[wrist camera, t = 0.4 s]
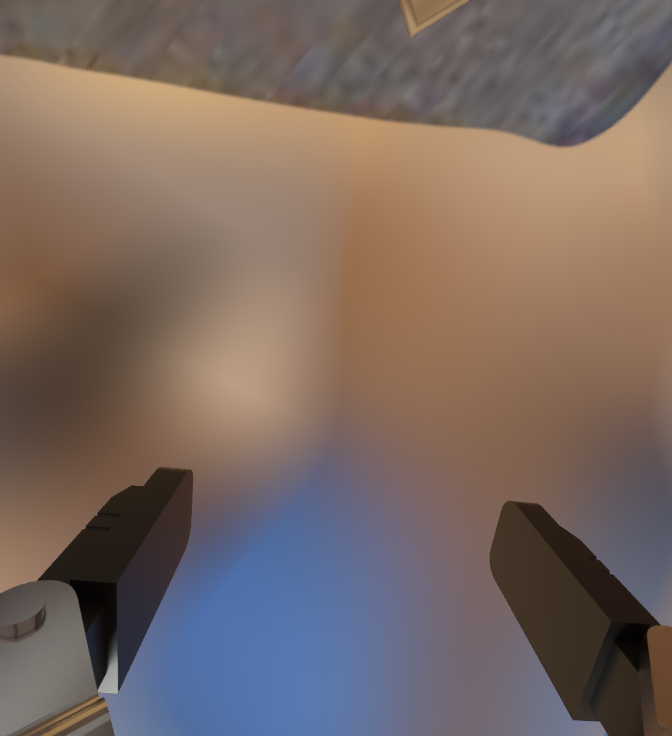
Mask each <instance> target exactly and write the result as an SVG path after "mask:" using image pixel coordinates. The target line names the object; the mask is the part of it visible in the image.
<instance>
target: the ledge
mask: <svg viewBox="0 0 672 736" xmlns="http://www.w3.org/2000/svg"><path fill="white" fill-rule="evenodd" d="M398 1H399V4H400V7H401V10H402V13H403V16H404V19H405V23H406V26H407V29H408V32H409V35H410V38H411V37H412V36H414V35H416V34H417V33H419V32H420V31H422V30H423V29H425V28H427V27H428V26H430V25H431V24H433V23H435V22H436V21H438V20H439V19H441V18H442V17H444V16H446V15H447V14H449V13H450V12H452V11H454V10H455V9H457V8H458V7H460V6H461V5H463V4H465V3H466V2H468V1H469V0H398Z"/></svg>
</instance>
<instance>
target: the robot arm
mask: <svg viewBox="0 0 672 736" xmlns="http://www.w3.org/2000/svg"><path fill="white" fill-rule="evenodd" d="M192 491H193V472H192V470H190V469H179V468H169V467H159V468H158V469H157V470H156V471H155V472H154V474H153V475H152V476H151V477H150V479H149V480H148V481H147V482H146V484H145V485H144V486H133V485H132V486H130V487H128V488H127V489H125V490H123V491H122V492H120V493H118V494H116V495H115V496H113V497H111V498H110V500H109V501H108V502H107V503H106V504H105V505H104V506H103V507H102V509H101V510H100V511H99V512H98V515H97V516H95V517H94V518H93V519H92V520H91V521H90V522H89V523H88V524H87V525H86V528H85V529H83V530H82V531H81V532H80V533H79V534H78V535H77V537H76V538H75V539H74V540H73V541H72V542H71V543H70V544H69V546H68V547H67V548H66V549H65V550H64V551H63V552H62V554H61V555H60V556H59V557H58V558H57V559H56V560H55V561H54V563H52V565H51V566H50V567H49V568H48V569H47V570H46V571H45V573H44V574H43V575H42V576H41V577H40V578H39V579H38V580H37V581H35V582H29V583H26V584H22V585H19V586H16V587H13V588H11V589H9V590H6V591H4V592H3V593H1V594H0V736H114V731H113V727H112V723H111V718H110V714H109V711H108V707H107V704H106V701H105V699H104V698H101V699H99V696H98V692H104V693H105V692H106V693H118V692H119V690H120V688H121V685H122V684H123V681H124V679H125V677H126V675H127V672H128V671H129V669H130V666H131V664H132V662H133V660H134V658H135V656H136V654H137V651H138V649H139V647H140V645H141V643H142V641H143V639H144V637H145V635H146V633H147V630H148V628H149V626H150V624H151V622H152V620H153V618H154V616H155V613H156V611H157V609H158V607H159V605H160V603H161V601H162V599H163V596H164V594H165V592H166V590H167V588H168V586H169V584H170V581H171V579H172V577H173V575H174V573H175V571H176V568H177V567H178V564H179V562H180V560H181V558H182V556H183V554H184V552H185V549H186V546H187V543H188V539H189V535H190V529H191V515H192ZM490 567H491V571H492V574H493V577H494V579H495V581H496V582H497V584H498V586H499V588H500V590H501V591H502V593H503V595H504V597H505V599H506V601H507V602H508V604H509V606H510V608H511V610H512V611H513V613H514V615H515V617H516V619H517V620H518V622H519V624H520V626H521V628H522V629H523V631H524V633H525V635H526V637H527V638H528V640H529V642H530V644H531V646H532V647H533V649H534V651H535V653H536V654H537V656H538V658H539V660H540V662H541V664H542V665H543V667H544V669H545V671H546V673H547V674H548V676H549V678H550V680H551V681H552V683H553V685H554V687H555V689H556V690H557V692H558V694H559V696H560V698H561V700H562V701H563V703H564V705H565V707H566V708H567V710H568V712H569V714H570V716H571V717H572V719H573V720H581V721H600V722H601V724H602V726H603V727H604V729H605V731H606V732H605V734H604V736H672V627H670V626H664V625H660V624H659V623H658V622H657V620H656V619H655V618H654V617H653V616H651V614H650V613H649V612H648V611H647V610H646V609H645V608H644V607H643V606H642V605H641V604H640V603H639V601H637V599H636V598H635V597H634V596H633V595H632V594H631V593H630V592H629V591H628V590H627V589H626V588H625V587H624V586H623V585H622V583H621V582H620V581H619V580H618V579H617V578H616V577H615V576H614V575H611V574H610V572H609V570H608V569H607V568H606V567H605V566H604V565H603V563H602V562H601V561H600V560H597V559H596V556H595V555H594V554H593V553H592V552H591V551H590V550H589V549H588V548H587V547H586V545H585V544H584V543H583V542H582V541H581V540H580V539H578V538H577V537H575V536H574V535H572V534H571V533H569V532H568V531H567V530H565V529H564V528H562V527H561V526H559V525H558V524H557V523H556V521H555V520H554V519H553V518H552V517H551V516H550V515H549V514H548V513H547V512H546V511H545V509H544V508H543V507H542V506H541V505H539V504H535V503H526V502H515V501H507V502H506V503H505V504H504V505H503V507H502V510H501V514H500V518H499V521H498V525H497V528H496V532H495V536H494V539H493V543H492V547H491V551H490Z"/></svg>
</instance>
